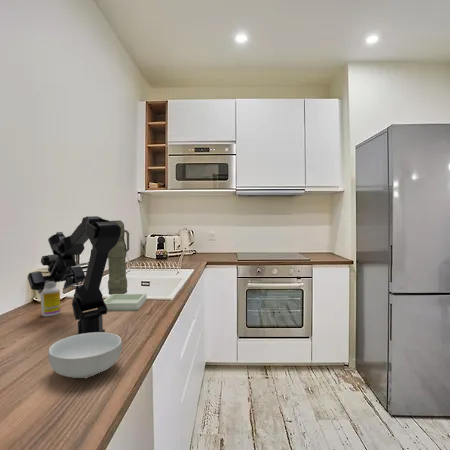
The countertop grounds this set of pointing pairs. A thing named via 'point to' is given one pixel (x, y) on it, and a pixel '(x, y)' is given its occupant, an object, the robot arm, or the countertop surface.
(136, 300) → the tray
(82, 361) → the cereal bowl
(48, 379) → the countertop surface
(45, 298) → the supplement bottle
